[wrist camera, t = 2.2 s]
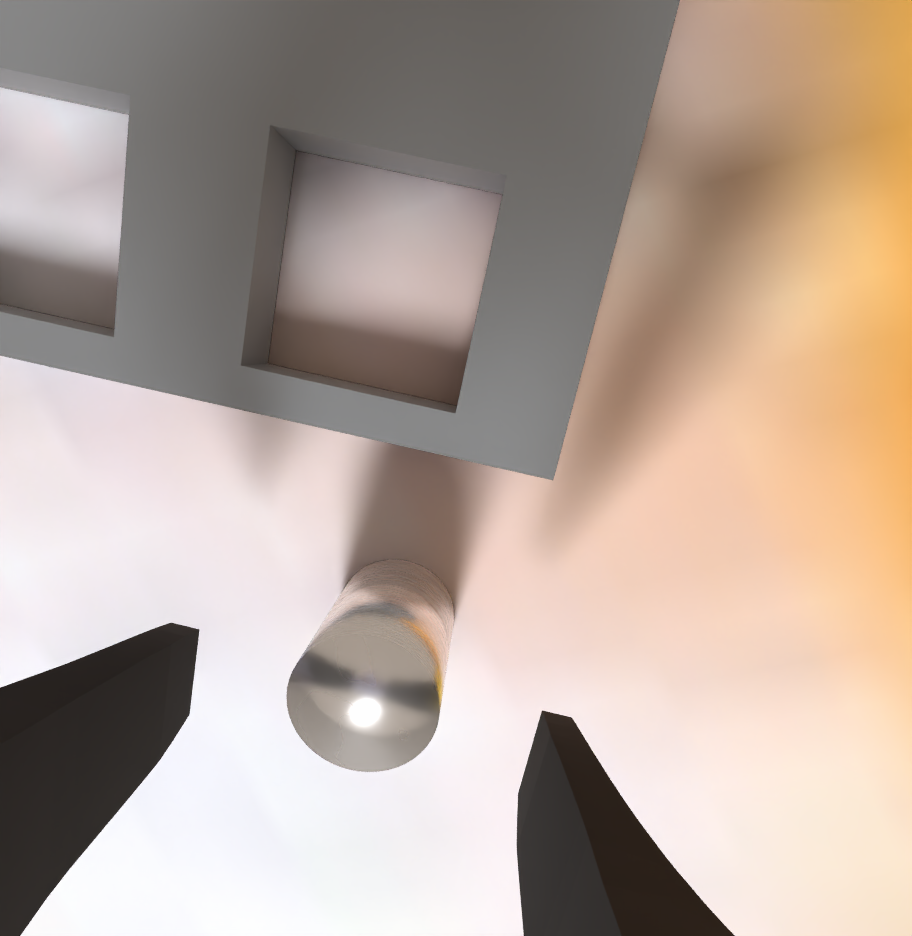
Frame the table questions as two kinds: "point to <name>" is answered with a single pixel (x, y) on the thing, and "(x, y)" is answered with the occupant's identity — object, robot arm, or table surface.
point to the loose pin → (375, 669)
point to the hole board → (359, 141)
